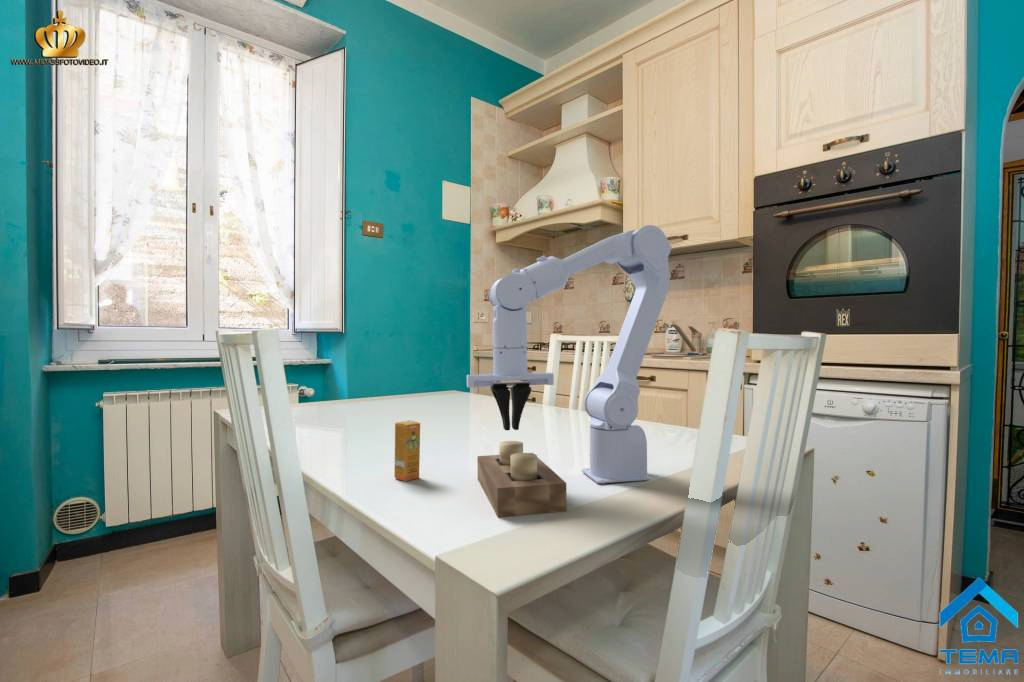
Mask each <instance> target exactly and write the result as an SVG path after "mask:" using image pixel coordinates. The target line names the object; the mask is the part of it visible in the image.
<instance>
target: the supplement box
mask: <svg viewBox="0 0 1024 682" xmlns="http://www.w3.org/2000/svg"><path fill="white" fill-rule="evenodd" d="M394 431H395V432H394V479H396V480H399V481H402V482H409V481H412V480H415V479H419V478H420V458H421V457H420V455H421V454H420V453H421V449H420V448H421V446H420V445H421V422H419V421H415V420H402V421H397V422H395V423H394Z"/></svg>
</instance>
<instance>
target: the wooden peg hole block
mask: <svg viewBox="0 0 1024 682" xmlns="http://www.w3.org/2000/svg"><path fill="white" fill-rule="evenodd" d="M531 453H532V454H535V453H534V452H531ZM477 480H478V483H479V484H480V486H481V488H482V490H483V492H484V494H485V495H486V498H487V500H488V502H489V503H490V504H491V508H492V509H493V511H494V514H495V515H496V517H497V518H499V517H501V518H502V517H503V518H504V517H513V516H524V515H525V516H526V515H536V514H546V513H558V512H560V513H561V512H567V511H568V510H567V508H568V507H567V499H568V498H567V482H566V481H565V480H564V479H563V478H561V477H560V476H559V475H558V474H557V473H556V472H555V471H554V470H553V469H552V468H551V467H550V466H548V465H547V464H546V463H545V462H544V461H543V460H541V459H540V458H539V457H538V456H537V479H534V480H520V481H512V479H511V465H500V464H499V454H492V455H491V454H490V455H477Z"/></svg>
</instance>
